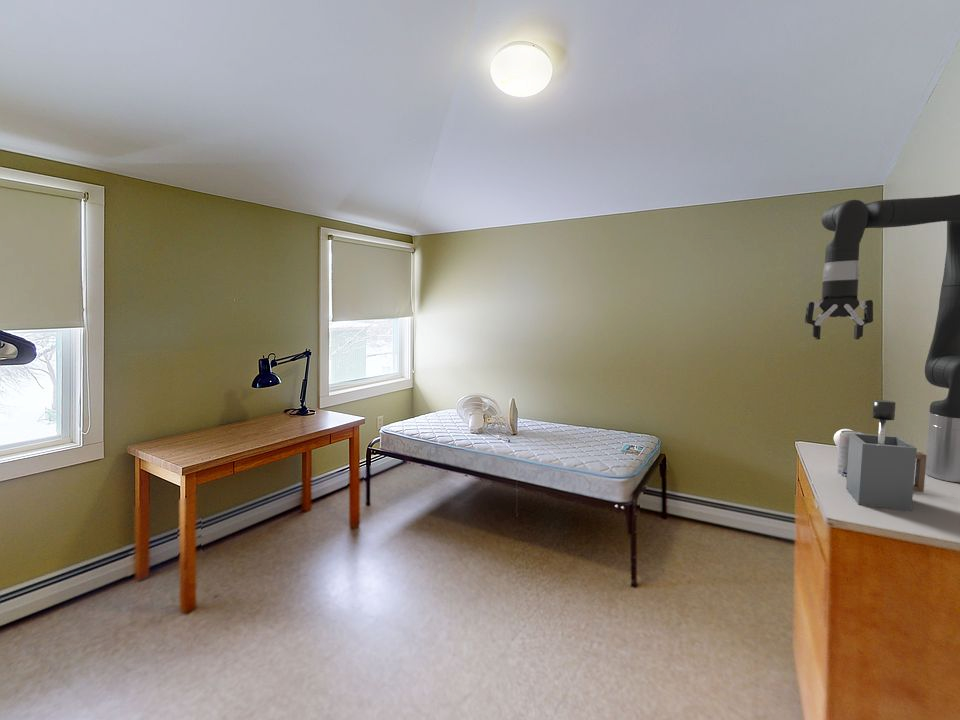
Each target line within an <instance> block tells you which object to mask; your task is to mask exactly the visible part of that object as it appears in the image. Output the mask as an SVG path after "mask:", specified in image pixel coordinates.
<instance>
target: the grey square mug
mask: <svg viewBox="0 0 960 720" xmlns="http://www.w3.org/2000/svg"><path fill="white" fill-rule="evenodd" d="M917 450H918V448H917V447H916V446H914V445H912V444H911V443H910V442H908V441H907V440H905V439H904V438H902V437H900V436H895V435H885V443H884V445H882V444H878V434H871V433H869V434H867V433H863V434H857V433H850V437H849V452H848V467H847V477H846V482H845V483H846V486H845V490H846V489H847V490H848V491H847V490H846V491H847V493H849V495H850V494H851V495H852V496H851V495H850V496H851V497H852V499H855V500H854V501H855V502H856V503H857V505H859V504H861V506H866V505H867V506H868V507H874V508H875V507H876V508H883V509H890V510H891V509H892V510H900V511H905V512H912V509H913V508H912V507H913V497H914V492H915V493H916V492H917V493H918V492H919V493H924V492H925V491H924V490H925V481H926V480H925V479H926V474H925V470H926V458H927V455H926V453H924V452H921V451H917Z"/></svg>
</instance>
